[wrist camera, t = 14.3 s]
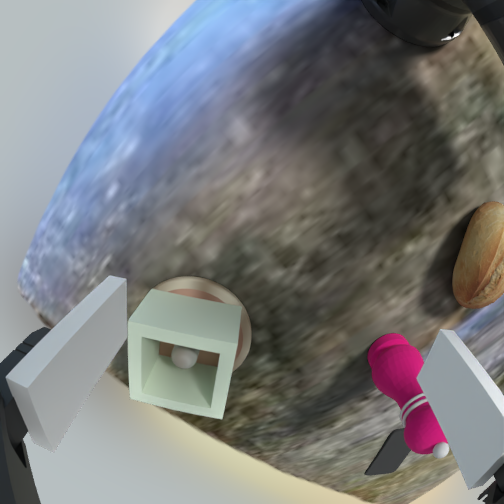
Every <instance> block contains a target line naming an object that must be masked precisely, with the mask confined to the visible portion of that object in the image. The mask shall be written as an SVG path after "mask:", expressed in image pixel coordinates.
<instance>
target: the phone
mask: <svg viewBox="0 0 504 504" xmlns="http://www.w3.org/2000/svg"><path fill="white" fill-rule="evenodd" d="M404 429H405V428H403V429H396V430H394V431H392V432H391V434H390V435H389V437H388V439H387V440H386V442H385V443H384V445H383V446H382V448H381V450H380V451H379V453H378V454H377V456H376V457H375V459H374V460H373V462H372V463H371V465H370V466H369V468H368V469H367V471H366V475H378V474H387V473H392V472H394V471H395V470H396V469H397V468H398V467H399V466H400V464H401V463H402V462H403V460H404V459H405V458H406V456H407V455H408V453H409V452H410V451H411V449H410V448H409V447H408V446H407V444H406V442H405V440H404Z"/></svg>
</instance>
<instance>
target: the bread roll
mask: <svg viewBox="0 0 504 504" xmlns="http://www.w3.org/2000/svg"><path fill="white" fill-rule="evenodd" d="M452 287H453V293H454V296H455V298H456V300H457V302H458V303H459V304H460V305H461V306H463V307H466V308H472V309H476V308H482V307H485V306H487V305H489V304H491V303H494V302H495V301H496V300H497V299H498V298H499V297H501V295H502V294H503V293H504V205H502V204H501V203H499V202H493V201H492V202H487V203H484V204H482V205H481V206H480V207H479V208H478V209H477V210H476V211H475V213H474V215H473V216H472V218H471V220H470V223H469V225H468V227H467V231H466V233H465V236H464V239H463V243H462V244H461V248H460V252H459V255H458V258H457V261H456V263H455V267H454V270H453V279H452Z"/></svg>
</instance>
